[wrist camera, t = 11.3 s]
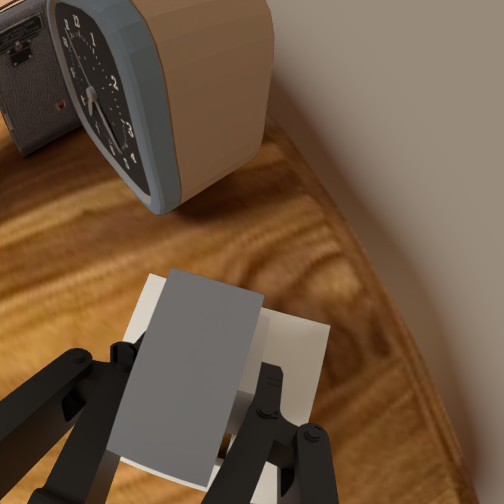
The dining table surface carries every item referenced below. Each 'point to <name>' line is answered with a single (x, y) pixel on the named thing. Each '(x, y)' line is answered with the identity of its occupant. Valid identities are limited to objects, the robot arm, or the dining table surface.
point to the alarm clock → (167, 87)
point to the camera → (32, 79)
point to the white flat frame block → (275, 352)
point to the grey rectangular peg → (186, 377)
